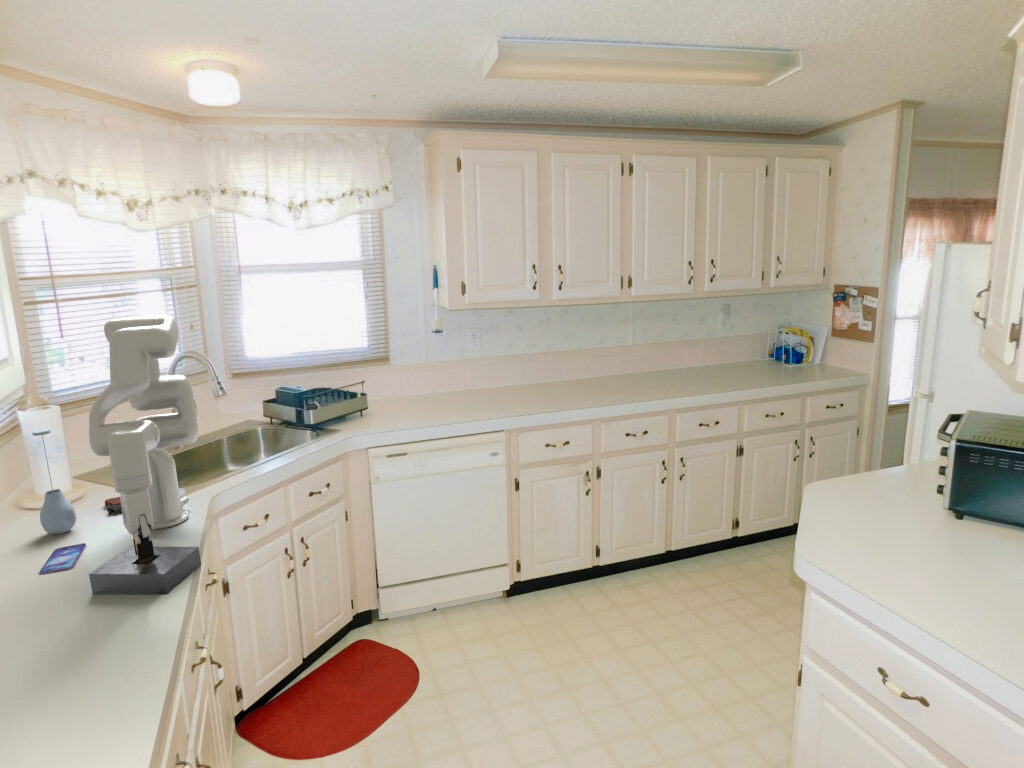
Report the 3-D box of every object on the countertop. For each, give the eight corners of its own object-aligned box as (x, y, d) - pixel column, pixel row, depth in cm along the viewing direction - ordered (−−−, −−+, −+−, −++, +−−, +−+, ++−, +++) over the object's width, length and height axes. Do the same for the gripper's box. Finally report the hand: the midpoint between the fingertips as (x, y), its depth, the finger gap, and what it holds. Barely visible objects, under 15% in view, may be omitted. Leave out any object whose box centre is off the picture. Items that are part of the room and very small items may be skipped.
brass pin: (145, 567, 154) (139, 528, 152) (157, 567, 154) (151, 528, 152) (137, 573, 151) (130, 534, 149) (149, 573, 151) (143, 533, 149)
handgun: (160, 488, 211) (166, 497, 202) (160, 496, 211) (167, 505, 202) (103, 498, 202) (107, 508, 192) (104, 506, 202) (108, 517, 193)
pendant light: (74, 524, 188) (56, 425, 182) (81, 531, 182) (62, 430, 176) (41, 533, 182) (21, 431, 177) (46, 541, 177) (26, 436, 171)
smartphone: (37, 573, 157) (55, 548, 171) (38, 577, 157) (55, 551, 171) (72, 566, 160) (87, 542, 173) (73, 569, 160) (87, 545, 174)
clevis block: (132, 564, 161) (129, 546, 160) (201, 565, 159) (198, 546, 158) (92, 593, 147) (88, 573, 146) (166, 594, 145) (163, 574, 144)
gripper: (108, 477, 152) (120, 549, 155) (121, 494, 140) (133, 572, 143) (144, 469, 157) (155, 540, 160) (159, 486, 144) (170, 561, 148)
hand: (144, 554), depth 152 cm, fingers closed on brass pin, 2 cm apart
